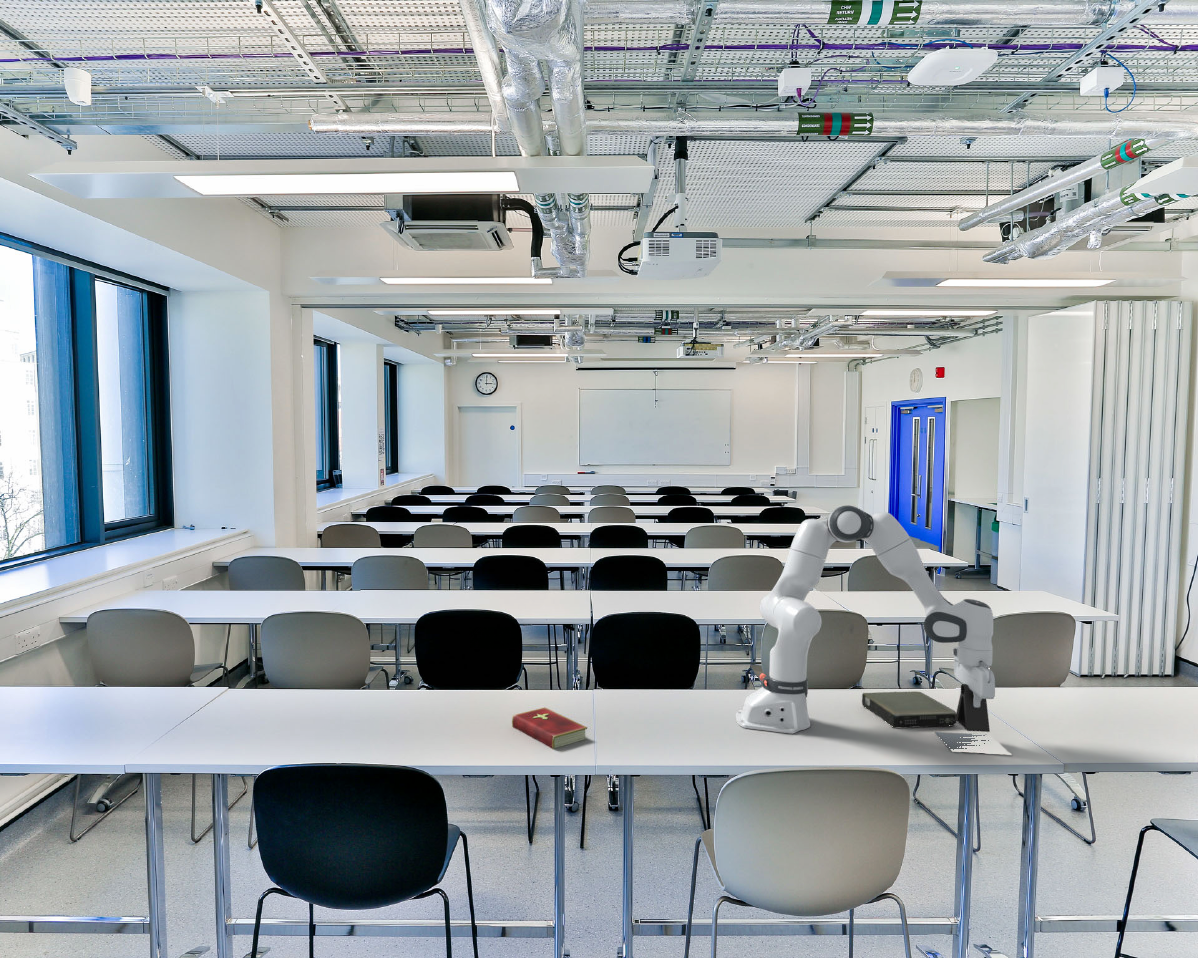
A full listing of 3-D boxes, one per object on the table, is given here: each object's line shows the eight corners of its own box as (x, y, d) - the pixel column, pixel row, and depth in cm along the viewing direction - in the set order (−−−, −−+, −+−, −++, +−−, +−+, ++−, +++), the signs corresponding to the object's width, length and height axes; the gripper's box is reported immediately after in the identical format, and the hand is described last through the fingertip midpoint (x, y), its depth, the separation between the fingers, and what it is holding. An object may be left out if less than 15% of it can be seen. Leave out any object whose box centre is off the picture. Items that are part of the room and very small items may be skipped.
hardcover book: (552, 750, 206) (553, 735, 206) (511, 728, 222) (512, 714, 222) (587, 740, 214) (587, 726, 213) (544, 719, 230) (545, 706, 230)
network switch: (915, 702, 252) (915, 687, 252) (965, 727, 229) (966, 711, 229) (854, 707, 246) (855, 692, 246) (900, 733, 224) (900, 717, 223)
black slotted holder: (989, 732, 210) (991, 690, 210) (967, 731, 211) (969, 689, 210) (976, 720, 219) (977, 680, 219) (955, 719, 220) (956, 679, 219)
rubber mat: (952, 752, 209) (952, 750, 209) (934, 733, 223) (934, 731, 223) (1012, 755, 207) (1012, 753, 207) (990, 736, 221) (990, 734, 221)
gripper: (1002, 667, 203) (1000, 717, 204) (972, 647, 224) (970, 693, 224) (978, 666, 204) (976, 716, 205) (950, 647, 224) (948, 692, 225)
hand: (973, 704), depth 215 cm, fingers closed on black slotted holder, 2 cm apart
